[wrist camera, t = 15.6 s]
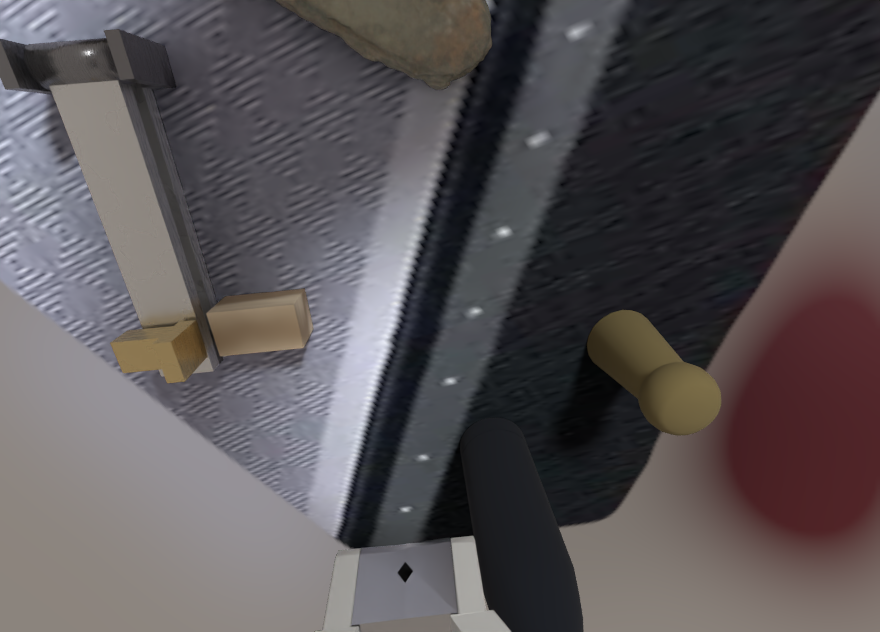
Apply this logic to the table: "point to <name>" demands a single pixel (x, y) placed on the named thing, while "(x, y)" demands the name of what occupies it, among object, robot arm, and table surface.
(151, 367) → the tan l-shaped block
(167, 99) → the table surface
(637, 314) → the cork
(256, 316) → the tan wooden block
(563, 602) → the wine bottle
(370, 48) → the elongated rock
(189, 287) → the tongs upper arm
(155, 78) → the base
